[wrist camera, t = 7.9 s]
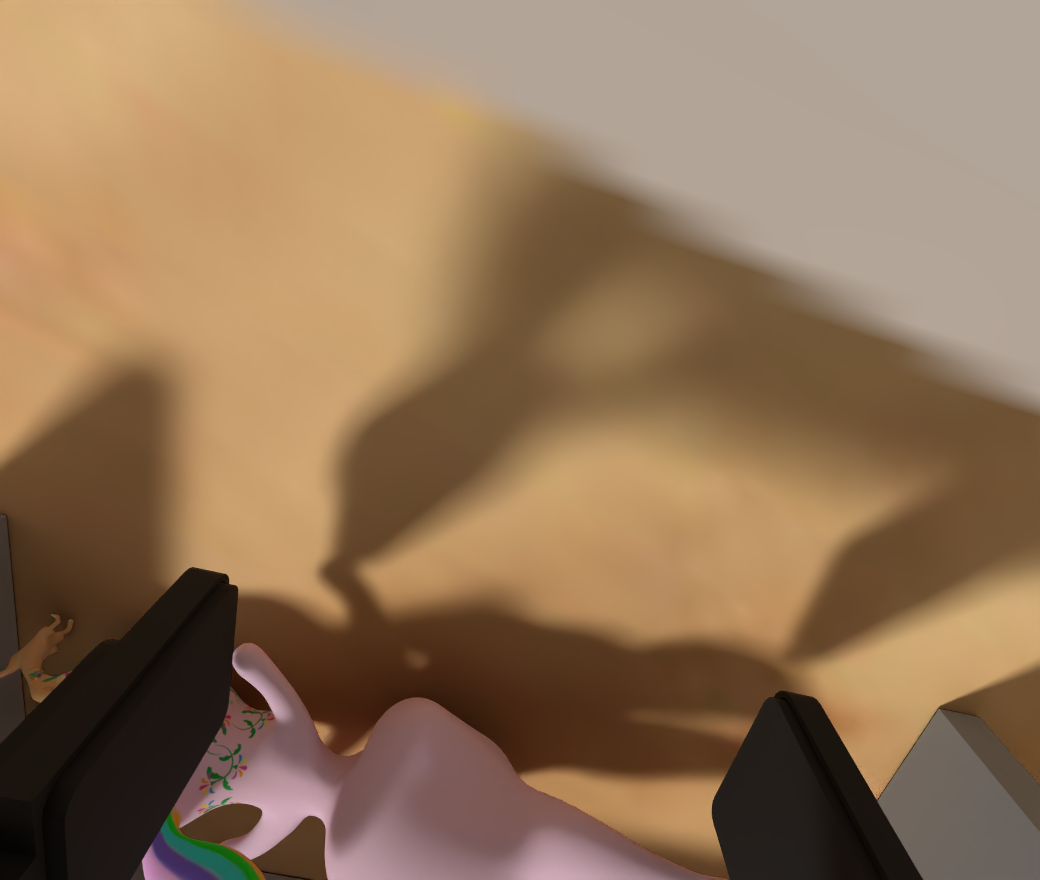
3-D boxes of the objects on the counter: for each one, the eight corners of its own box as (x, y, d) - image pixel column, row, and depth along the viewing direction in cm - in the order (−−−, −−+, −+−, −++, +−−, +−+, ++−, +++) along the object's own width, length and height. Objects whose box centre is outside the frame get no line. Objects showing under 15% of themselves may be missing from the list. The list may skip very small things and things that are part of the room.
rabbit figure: (116, 717, 16) (668, 920, 14) (-170, 986, 10) (693, 1348, 9) (118, 515, 13) (772, 737, 12) (-249, 717, 8) (892, 1157, 7)
